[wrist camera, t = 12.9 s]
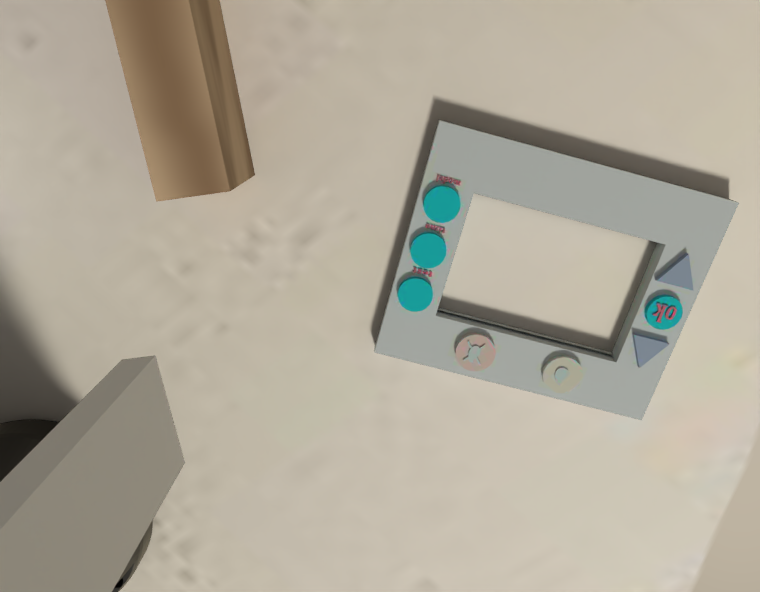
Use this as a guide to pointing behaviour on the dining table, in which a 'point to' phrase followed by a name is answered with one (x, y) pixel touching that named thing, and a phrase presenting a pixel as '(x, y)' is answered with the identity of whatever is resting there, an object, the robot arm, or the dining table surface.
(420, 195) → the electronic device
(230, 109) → the brown rectangular block
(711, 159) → the dining table surface
